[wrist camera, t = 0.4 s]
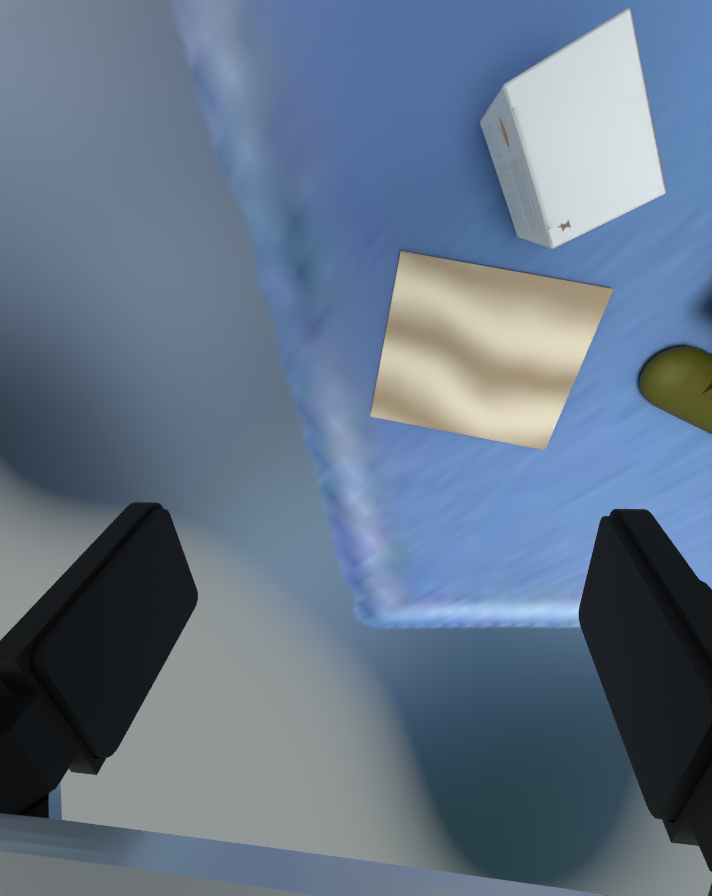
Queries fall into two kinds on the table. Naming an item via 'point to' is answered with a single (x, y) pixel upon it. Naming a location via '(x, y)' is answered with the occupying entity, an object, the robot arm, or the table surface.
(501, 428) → the board
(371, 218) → the table surface
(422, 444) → the table surface
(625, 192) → the small box
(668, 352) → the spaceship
